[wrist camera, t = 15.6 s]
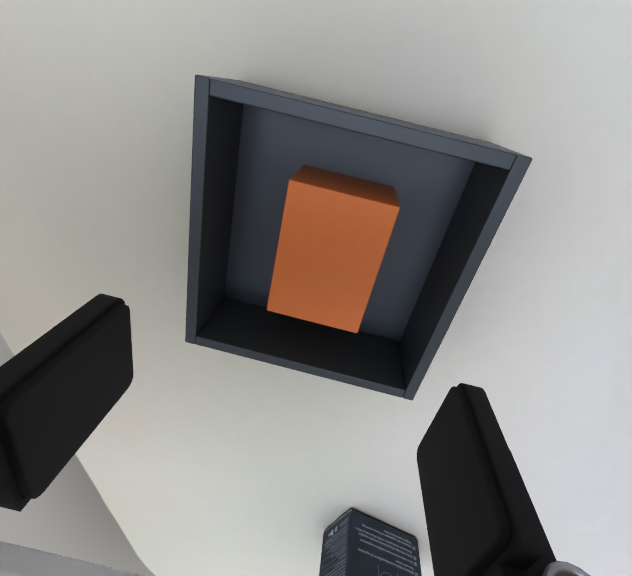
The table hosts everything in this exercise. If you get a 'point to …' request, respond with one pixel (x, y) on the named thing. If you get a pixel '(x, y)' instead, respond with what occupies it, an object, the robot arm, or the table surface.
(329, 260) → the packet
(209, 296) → the tray
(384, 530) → the box
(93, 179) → the table surface
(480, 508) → the robot arm
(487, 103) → the table surface
